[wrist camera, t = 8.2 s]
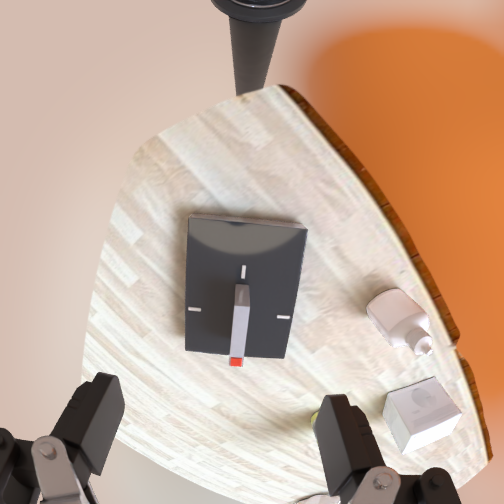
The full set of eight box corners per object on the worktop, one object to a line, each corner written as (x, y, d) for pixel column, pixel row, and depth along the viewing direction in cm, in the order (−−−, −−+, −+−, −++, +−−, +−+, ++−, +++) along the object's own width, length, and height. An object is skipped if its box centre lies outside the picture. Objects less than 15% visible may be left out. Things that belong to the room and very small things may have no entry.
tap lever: (235, 283, 30) (234, 306, 25) (248, 284, 30) (250, 308, 25) (230, 339, 32) (228, 367, 27) (242, 340, 32) (242, 368, 27)
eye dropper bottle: (369, 287, 34) (415, 337, 23) (404, 287, 34) (455, 332, 23) (362, 317, 35) (401, 373, 24) (397, 316, 36) (441, 366, 24)
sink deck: (193, 212, 31) (188, 217, 28) (302, 223, 32) (308, 229, 29) (188, 337, 35) (184, 351, 32) (281, 345, 36) (284, 359, 33)
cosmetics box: (381, 415, 42) (401, 456, 32) (387, 392, 40) (411, 435, 30) (427, 399, 42) (451, 434, 32) (435, 375, 40) (463, 412, 30)
